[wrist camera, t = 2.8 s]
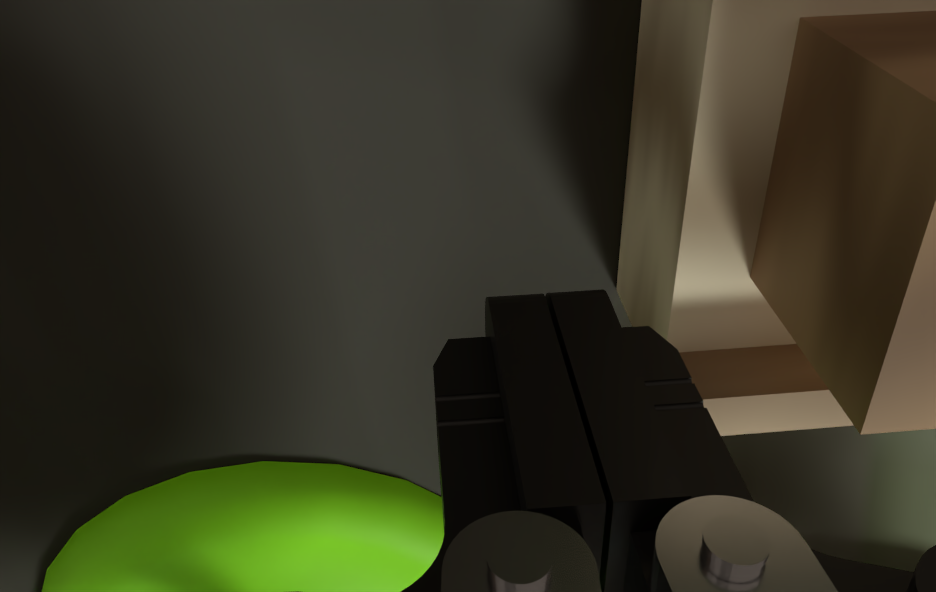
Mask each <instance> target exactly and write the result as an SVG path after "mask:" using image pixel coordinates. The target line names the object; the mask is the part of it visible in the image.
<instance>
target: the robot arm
mask: <svg viewBox="0 0 936 592" xmlns="http://www.w3.org/2000/svg"><path fill="white" fill-rule="evenodd" d="M485 332H486V337H476V338H461V339H448V341H447V342H446V344H445V346H444V348H443V350H442V351H441V353H440V355H439V357H438V358H437V360H436V362H435V364H434V366H433V370H434V387H435V404H436V421H437V438H438V455H439V469H440V483H441V497H442V511H443V525H444V538H443V543H442V546H441V548H440V551H439V553H438V555H437V557H436V559H435V560H434V562H433V563H432V565H431V566H430V567H429V568H428V570H427V571H426V572H425V573H424V574H423V575H422V576H421V577H420V578H419V579H418V580H416V581H415V582H414V583H413V584H412V585H410V586H408V587H407V588H405V589H404V590H402V591H401V592H936V545H935V546H933V547H932V548H930V549H928V550H927V551H926V552H925V553H924V554H923V555H922V557H921V559H920V560H919V562H918V564H917V566H916V569H915V571H914V572H909V571H903V570H898V569H893V568H887V567H882V566H877V565H871V564H866V563H860V562H855V561H850V560H845V559H841V558H836V557H832V556H829V555H826V554H823V553H820V552H817V551H815V550H812V549H810V547H809V546H808V544H807V543H806V541H805V540H804V538H803V537H802V536H801V534H800V533H799V532H798V531H797V530H796V529H795V528H794V527H793V526H792V525H791V524H790V523H789V522H788V521H786V520H785V519H784V518H783V517H781V516H780V515H779V514H777V513H775V512H773V511H772V510H770V509H768V508H767V507H764V506H762V505H760V504H757V503H755V502H754V501H753V499H752V498H751V496H750V494H749V492H748V490H747V488H746V486H745V484H744V482H743V480H742V478H741V476H740V474H739V472H738V470H737V468H736V466H735V464H734V462H733V460H732V458H731V456H730V454H729V452H728V450H727V448H726V446H725V444H724V442H723V440H722V438H721V436H720V434H719V432H718V430H717V428H716V426H715V424H714V422H713V420H712V418H711V416H710V414H709V412H708V410H707V408H704V405H703V400H702V398H701V396H700V394H699V392H698V390H697V388H696V386H695V383H693V384H692V377H691V375H690V373H689V371H688V369H687V367H686V365H685V363H684V361H683V359H682V357H681V355H680V353H679V351H678V349H677V348H675V347H674V346H673V345H672V344H670V343H669V342H668V341H667V340H666V339H664V338H663V337H662V336H661V335H659V334H658V333H657V332H656V331H655V330H653V329H652V328H651V327H650V326H638V327H623V328H621V325H620V323H619V320H618V318H617V316H616V313H615V311H614V308H613V306H612V304H611V301H610V299H609V297H608V294H607V293H606V291H605V290H590V291H574V292H558V293H547V294H546V296H544V294H530V295H515V296H499V297H486V302H485ZM296 592H299V591H296Z"/></svg>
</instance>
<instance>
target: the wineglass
mask: <svg viewBox="0 0 936 592" xmlns="http://www.w3.org/2000/svg"><path fill="white" fill-rule="evenodd" d="M443 538H444V525H443V511H442V497H440V496H438V495H436V494H434V493H432V492H430V491H428V490H426V489H424V488H421V487H419V486H417V485H415V484H413V483H411V482H409V481H407V480H403V479H399V478H394V477H390V476H386V475H382V474H378V473H373V472H369V471H365V470H361V469H356V468H352V467H348V466H344V465H340V464H323V463H298V462H274V461H260V462H254V463H247V464H240V465H233V466H227V467H220V468H213V469H207V470H200V471H193V472H188V473H186V474H183V475H180V476H178V477H175V478H172V479H170V480H167V481H164V482H161V483H159V484H156V485H153V486H151V487H148V488H145V489H143V490H140V491H137V492H134V493H132V494H129V495H126V496H124V497H123V498H122V499H120V500H119V501H117V502H116V503H114V504H113V505H111V506H110V507H109V508H107V509H106V510H104V511H103V512H101V513H100V514H98V515H97V516H96V517H94V518H93V519H91V520H90V521H88V522H87V523H85V524H84V525H83V526H81V527H80V528H78V529H77V530H76V531H75V532H74V534H73V535H72V536H71V538H70V539H69V540H68V542H67V543H66V544H65V546H64V547H63V548H62V550H61V551H60V552H59V554H58V555H57V557H56V558H55V559H54V561H53V562H52V563H51V565H50V566H49V567H48V569H47V571H46V575H45V579H44V584H43V588H42V592H296V591H299V592H401V591H402V590H404V589H405V588H407V587H408V586H410V585H412V584H413V583H414V582H415V581H416V580H418V579H419V578H420V577H421V576H422V575H423V574H424V573H425V572H426V571H427V570H428V568H429V567H430V566H431V565H432V563H433V562H434V560H435V559H436V557H437V555H438V553H439V551H440V548H441V546H442V543H443Z"/></svg>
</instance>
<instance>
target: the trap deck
mask: <svg viewBox="0 0 936 592" xmlns="http://www.w3.org/2000/svg"><path fill="white" fill-rule="evenodd" d="M918 11H936V0H642V4H641V16H640V27H639V38H638V50H637V61H636V72H635V84H634V95H633V106H632V118H631V129H630V140H629V152H628V163H627V174H626V186H625V197H624V208H623V219H622V231H621V242H620V253H619V265H618V276H617V287H616V290H617V292H618V295H619V297H620V299H621V301H622V304H623V306H624V308H625V311H626V313H627V315H628V318H629V320H630V322H631V324H632V327H638V326H650V327H651V328H652V329H653V330H655V331H656V332H657V333H658V334H659V335H661V336H662V337H663V338H664V339H666V340H667V341H668V342H669V343H670V344H672V345H673V346H674V347H675V348H677V349H678V351H679V353H680V355H681V357H682V359H683V361H684V363H685V365H686V367H687V369H688V371H689V373H690V375H691V377H692V384H693V383H695V386H696V388H697V390H698V392H699V394H700V396H701V398H702V400H703V405H704V408H707V410H708V412H709V414H710V416H711V418H712V420H713V422H714V424H715V426H716V428H717V430H718V432H719V434H720V436H728V435H740V434H753V433H765V432H778V431H790V430H803V429H816V428H828V427H841V426H853V423H852V422H851V420H850V419H849V418H848V416H847V415H846V413H845V412H844V410H843V409H842V408H841V406H840V405H839V403H838V402H837V400H836V399H835V398H834V396H833V395H832V393H831V392H830V391H829V389H828V388H827V386H826V385H825V383H824V382H823V381H822V379H821V378H820V376H819V375H818V373H817V372H816V371H815V369H814V368H813V366H812V365H811V363H810V362H809V361H808V359H807V358H806V356H805V355H804V353H803V352H802V351H801V349H800V348H799V346H798V345H797V344H796V342H795V341H794V339H793V338H792V336H791V335H790V334H789V332H788V331H787V329H786V328H785V326H784V325H783V324H782V322H781V321H780V319H779V318H778V316H777V315H776V314H775V312H774V311H773V309H772V308H771V307H770V305H769V304H768V302H767V301H766V299H765V298H764V297H763V295H762V294H761V292H760V291H759V289H758V288H757V287H756V285H755V284H754V282H753V281H752V279H751V278H750V274H751V269H752V263H753V258H754V253H755V248H756V243H757V238H758V232H759V227H760V222H761V217H762V212H763V206H764V201H765V196H766V191H767V186H768V181H769V175H770V170H771V165H772V160H773V155H774V150H775V144H776V139H777V134H778V129H779V124H780V118H781V113H782V108H783V103H784V98H785V93H786V87H787V82H788V77H789V72H790V67H791V62H792V56H793V51H794V46H795V41H796V36H797V31H798V25H799V20H800V17H818V16H838V15H858V14H878V13H898V12H918Z"/></svg>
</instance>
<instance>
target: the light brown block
mask: <svg viewBox="0 0 936 592" xmlns="http://www.w3.org/2000/svg"><path fill="white" fill-rule="evenodd" d="M750 278H751V279H752V281H753V282H754V284H755V285H756V287H757V288H758V289H759V291H760V292H761V294H762V295H763V297H764V298H765V299H766V301H767V302H768V304H769V305H770V307H771V308H772V309H773V311H774V312H775V314H776V315H777V316H778V318H779V319H780V321H781V322H782V324H783V325H784V326H785V328H786V329H787V331H788V332H789V334H790V335H791V336H792V338H793V339H794V341H795V342H796V344H797V345H798V346H799V348H800V349H801V351H802V352H803V353H804V355H805V356H806V358H807V359H808V361H809V362H810V363H811V365H812V366H813V368H814V369H815V371H816V372H817V373H818V375H819V376H820V378H821V379H822V381H823V382H824V383H825V385H826V386H827V388H828V389H829V391H830V392H831V393H832V395H833V396H834V398H835V399H836V400H837V402H838V403H839V405H840V406H841V408H842V409H843V410H844V412H845V413H846V415H847V416H848V418H849V419H850V420H851V422H852V423H853V425H854V426H855V428H856V429H857V430H858V432H859V433H860V435H861V434H874V433H886V432H898V431H911V430H923V429H936V11H918V12H898V13H878V14H858V15H838V16H818V17H800V20H799V25H798V31H797V36H796V41H795V46H794V51H793V56H792V62H791V67H790V72H789V77H788V82H787V87H786V93H785V98H784V103H783V108H782V113H781V118H780V124H779V129H778V134H777V139H776V144H775V150H774V155H773V160H772V165H771V170H770V175H769V181H768V186H767V191H766V196H765V201H764V206H763V212H762V217H761V222H760V227H759V232H758V238H757V243H756V248H755V253H754V258H753V263H752V269H751V274H750Z"/></svg>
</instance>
